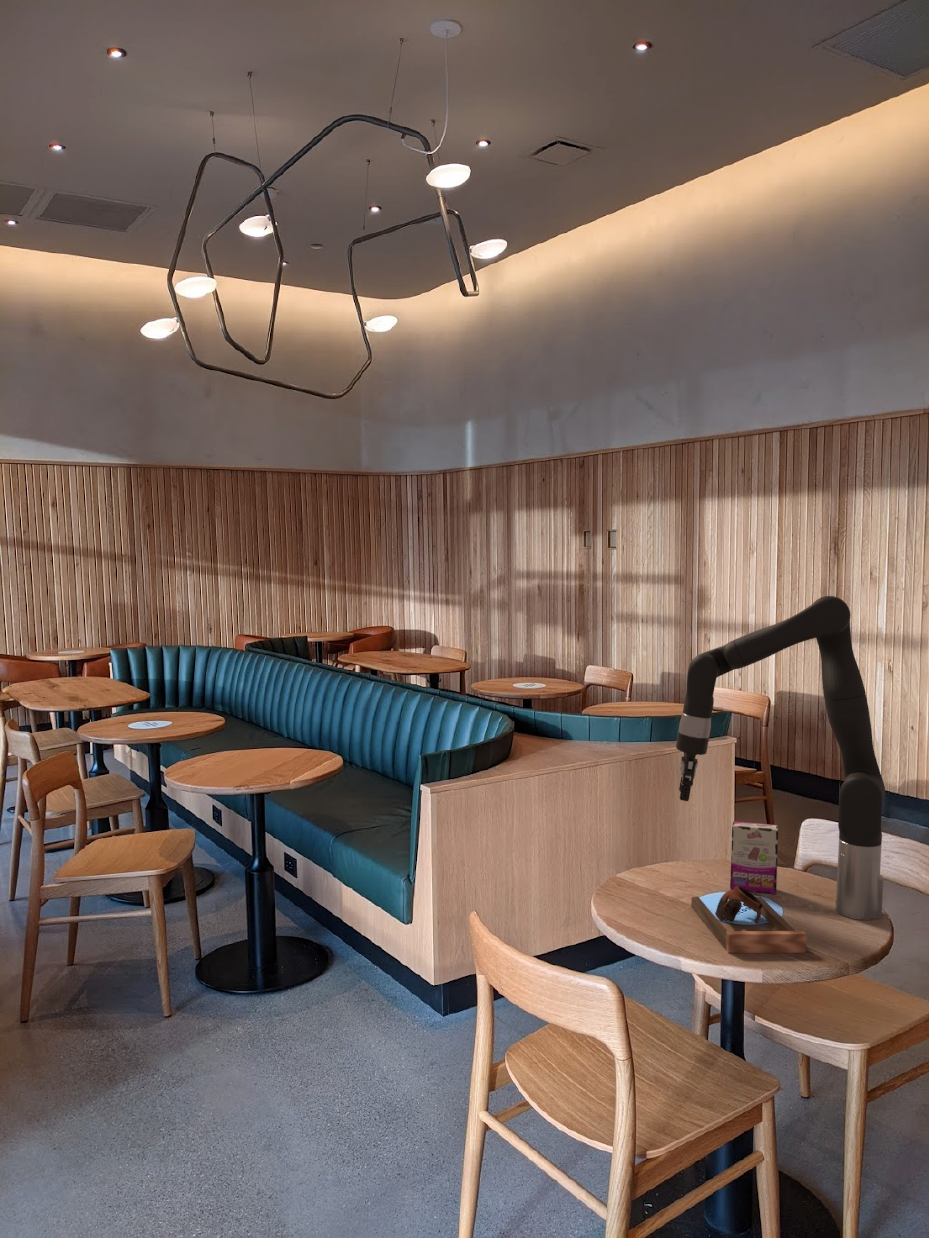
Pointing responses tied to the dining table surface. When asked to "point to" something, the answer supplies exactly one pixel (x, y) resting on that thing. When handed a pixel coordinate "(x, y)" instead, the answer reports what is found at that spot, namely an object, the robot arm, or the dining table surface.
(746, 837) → the candy bar box
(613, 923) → the dining table surface
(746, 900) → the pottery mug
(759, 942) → the bay
